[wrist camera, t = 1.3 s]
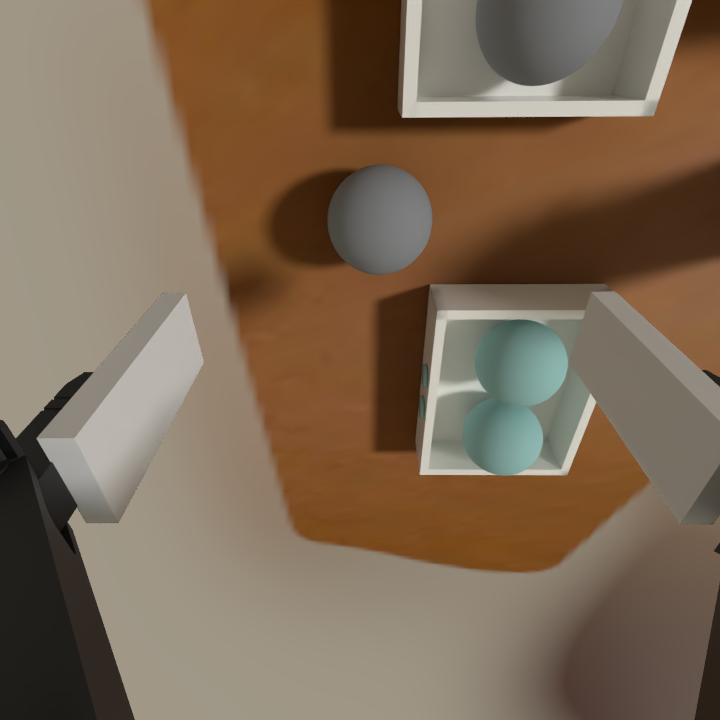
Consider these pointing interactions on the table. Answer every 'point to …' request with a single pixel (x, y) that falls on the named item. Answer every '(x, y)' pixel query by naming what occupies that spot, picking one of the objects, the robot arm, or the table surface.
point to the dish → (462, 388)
